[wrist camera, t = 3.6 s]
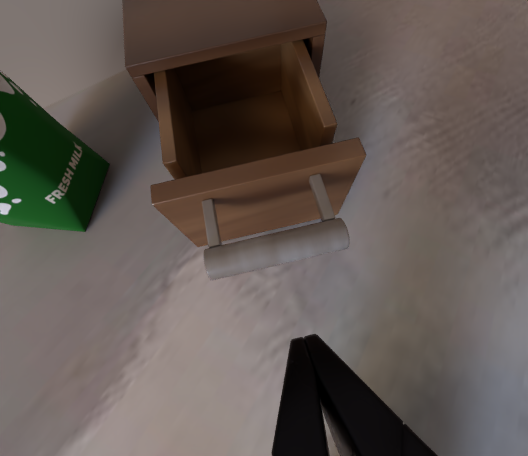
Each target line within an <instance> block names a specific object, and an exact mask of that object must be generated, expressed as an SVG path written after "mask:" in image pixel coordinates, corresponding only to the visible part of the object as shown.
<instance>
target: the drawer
mask: <svg viewBox="0 0 528 456" xmlns="http://www.w3.org/2000/svg"><path fill="white" fill-rule="evenodd" d="M154 78H155V88H156V98H157V108H158V119H159V129H160V139H161V149H162V159H163V164H164V166H165V167H166V168H167V170H168V171H169V172H170V174H171V175H172V176H173V178H174V179H175V180H171V181H167V182H163V183H158V184H154V185H151V198H152V205H153V206H154V207H155V208H156V209H157V210H158V211H160V212H161V213H162V214H163V215H164V216H165V217H166V218H167V219H168V220H169V221H170V222H171V223H172V224H174V225H175V226H176V227H177V228H178V229H179V230H180V231H181V232H182V233H183V234H184V235H185V236H186V237H188V238H189V239H190V240H191V241H192V242H193V243H194V244H195V245H196V246H197V247H200V246H204V245H208V246H209V248H208V249H205V250H204V263H205V268H206V272H207V274H208V277H209V278H210V280H216V279H220V278H225V277H229V276H233V275H237V274H242V273H246V272H250V271H254V270H259V269H263V268H267V267H271V266H276V265H280V264H284V263H289V262H293V261H297V260H301V259H306V258H310V257H314V256H318V255H323V254H327V253H331V252H335V251H340V250H344V249H347V248H348V247H349V234H348V230H347V227H346V225H345V223H344V221H343V220H342V219H341V218H337V219H335V215H337V214H338V213H339V211H340V209H341V207H342V204H343V202H344V200H345V198H346V196H347V194H348V192H349V190H350V188H351V186H352V184H353V182H354V180H355V178H356V175H357V173H358V171H359V169H360V167H361V165H362V163H363V161H364V159H365V157H366V153H365V151H364V148H363V146H362V144H361V141H360V139H359V138H354V139H350V140H345V141H341V142H337V143H332V142H333V138H334V134H335V130H336V127H337V122H336V119H335V117H334V114H333V112H332V110H331V107H330V105H329V102H328V100H327V97H326V95H325V92H324V90H323V88H322V85H321V83H320V80H319V78H318V75H317V73H316V70H315V68H314V66H313V63H312V61H311V58H310V56H309V53H308V51H307V48H306V46H305V44H304V41H303V39H302V40H297V41H293V42H288V43H284V44H279V45H275V46H270V47H266V48H262V49H257V50H253V51H248V52H244V53H239V54H235V55H230V56H226V57H221V58H217V59H212V60H208V61H204V62H199V63H195V64H190V65H186V66H181V67H177V68H172V69H168V70H163V71H159V72H155V73H154ZM320 218H321V220H322V222H320V223H315V224H311V225H307V226H303V227H298V228H294V229H290V230H285V231H281V232H277V233H273V234H268V235H264V236H260V237H255V238H251V239H247V240H243V241H238V242H234V243H230V244H225V245H222V243H221V241H226V240H230V239H234V238H238V237H243V236H247V235H251V234H256V233H260V232H264V231H268V230H273V229H277V228H281V227H286V226H290V225H294V224H298V223H303V222H307V221H311V220H316V219H320Z"/></svg>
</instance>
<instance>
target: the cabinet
mask: <svg viewBox="0 0 528 456" xmlns="http://www.w3.org/2000/svg"><path fill="white" fill-rule="evenodd" d="M122 3H123V27H124V49H125V67H126V69H127V70H128V72H129V74H130V75H131V77H132V79H133V81H134V82H135V84H136V85H137V87H138V89H139V90H140V92H141V94H142V95H143V97H144V99H145V100H146V102H147V104H148V105H149V107H150V108H151V110H152V112H153V113H154V115H155V117H156V118H157V120H158V122H159V119H158V108H157V98H156V88H155V78H154V73H155V72H159V71H163V70H168V69H172V68H177V67H181V66H186V65H190V64H195V63H199V62H204V61H208V60H212V59H217V58H221V57H226V56H230V55H235V54H239V53H244V52H248V51H253V50H257V49H262V48H266V47H270V46H275V45H279V44H284V43H288V42H293V41H297V40H302V39H303V41H304V44H305V46H306V48H307V51H308V53H309V56H310V58H311V61H312V63H313V66H314V68H315V70H316V73H317V75H318V78H319V74H320V67H321V60H322V53H323V46H324V39H325V31H326V24H327V21H326V19H325V17H324V15H323V12H322V10H321V8H320V6H319V4H318V2H317V0H122Z"/></svg>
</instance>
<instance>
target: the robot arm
mask: <svg viewBox="0 0 528 456" xmlns="http://www.w3.org/2000/svg"><path fill="white" fill-rule="evenodd" d="M321 407H322V408H321ZM322 410H323V413H324V416H325V419H326V421H327V424H328V427H329V429H330V432H331V434H332V437H333V439H334V442H335V444H336V447H337V449H338V452H339V454H340V456H438V455H437V454H436V453H435V452H434V451H432V450H431V449H430V448H429V447H428V446H427V445H426V444H425V443H424V442H423V441H422V440H421V439H420V438H419V437H418V436H417V435H416V434H415V433H414V432H413V431H412V430H411V429H410V428H409V427H408V426H407V425H406V424H403V421H402V420H401V419H400V418H399V417H398V416H397V415H396V414H395V413H394V412H393V411H392V410H391V409H390V408H389V407H388V406H387V405H386V404H385V403H384V402H383V401H382V400H381V399H380V398H379V397H378V396H377V395H376V394H375V393H374V392H373V391H372V390H371V389H370V388H369V387H368V386H367V385H366V384H365V383H364V382H363V381H362V380H361V379H360V378H359V377H358V376H357V375H356V374H355V373H354V372H353V371H352V370H351V369H350V368H349V367H348V366H347V365H346V363H345V362H344V361H343V360H342V359H341V358H340V357H339V356H338V355H337V354H336V353H335V352H334V351H333V350H332V349H331V348H330V347H329V346H328V345H327V344H326V343H325V342H324V341H323V340H322V339H321V338H320V337H319V336H318V335H316V334H312V335H308V336H305V337H304V338H303V337H300V338H295V339H292V340H291V343H290V349H289V354H288V360H287V366H286V372H285V378H284V384H283V389H282V395H281V401H280V407H279V413H278V419H277V425H276V430H275V436H274V442H273V448H272V456H330V455H329V448H328V442H327V436H326V430H325V424H324V419H323V413H322Z"/></svg>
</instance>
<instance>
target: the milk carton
mask: <svg viewBox="0 0 528 456" xmlns="http://www.w3.org/2000/svg"><path fill="white" fill-rule="evenodd" d="M109 165H110V164H109V163H108V162H107V161H106V160H104V159H103V158H102V157H101V156H99V155H98V154H97V153H96V152H94V151H93V150H92V149H91V148H89V147H88V146H87V145H86V144H85V143H83V142H82V141H81V140H80V139H78V138H77V137H76V136H75V135H73V134H72V133H71V132H70V131H68V130H67V129H66V128H65V127H63V126H62V125H61V124H60V123H59V122H57V121H56V120H55V119H54V118H53V117H52V116H51V115H49V114H48V113H47V112H46V111H45V110H44V109H43V108H42V107H41V106H39V105H38V104H37V103H36V102H35V101H34V100H33V99H32V98H30V97H29V96H28V95H27V94H26V93H25V92H24V91H23V90H22V89H20V87H18V86H17V85H16V84H15V83H14V82H13V81H12V80H11V79H10V78H8V77H7V76H6V75H5V74H4V73H3V72H2V71H1V70H0V222H1V223H5V224H9V225H14V226H26V227H37V228H49V229H60V230H72V231H83V232H85V231H86V228H87V226H88V223H89V220H90V217H91V215H92V212H93V209H94V206H95V203H96V201H97V198H98V195H99V192H100V190H101V187H102V184H103V181H104V179H105V176H106V173H107V170H108V168H109Z"/></svg>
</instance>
